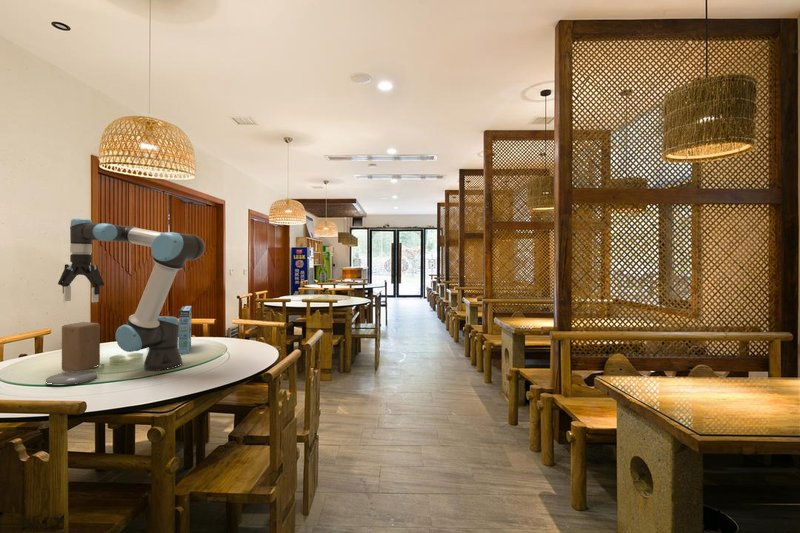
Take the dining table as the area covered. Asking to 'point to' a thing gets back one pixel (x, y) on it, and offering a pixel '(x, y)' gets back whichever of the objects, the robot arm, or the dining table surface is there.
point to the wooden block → (80, 346)
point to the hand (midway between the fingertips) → (81, 301)
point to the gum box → (184, 329)
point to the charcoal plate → (72, 377)
